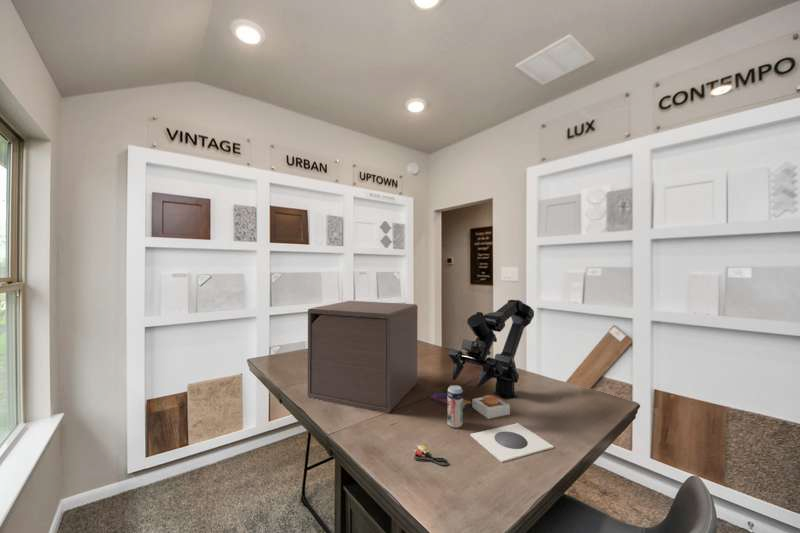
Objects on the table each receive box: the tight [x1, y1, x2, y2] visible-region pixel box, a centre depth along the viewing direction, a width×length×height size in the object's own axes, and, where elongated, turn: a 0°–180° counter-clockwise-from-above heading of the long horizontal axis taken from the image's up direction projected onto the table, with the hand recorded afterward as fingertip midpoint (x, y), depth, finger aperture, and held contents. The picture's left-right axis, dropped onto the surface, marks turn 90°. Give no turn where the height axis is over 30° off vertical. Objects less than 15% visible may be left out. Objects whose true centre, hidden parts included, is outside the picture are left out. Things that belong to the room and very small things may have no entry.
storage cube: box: [306, 300, 419, 414], centre depth 128 cm, size 34×29×34 cm
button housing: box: [471, 396, 511, 420], centre depth 111 cm, size 9×9×3 cm
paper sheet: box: [469, 422, 555, 463], centre depth 92 cm, size 18×14×1 cm
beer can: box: [446, 384, 464, 429], centre depth 101 cm, size 5×5×12 cm
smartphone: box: [429, 391, 472, 411], centre depth 119 cm, size 7×15×1 cm, turn 47°
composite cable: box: [411, 444, 449, 467], centre depth 83 cm, size 10×5×2 cm, turn 52°
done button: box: [482, 394, 499, 407], centre depth 111 cm, size 5×5×2 cm
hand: (464, 383), depth 105 cm, fingers open, 9 cm apart
